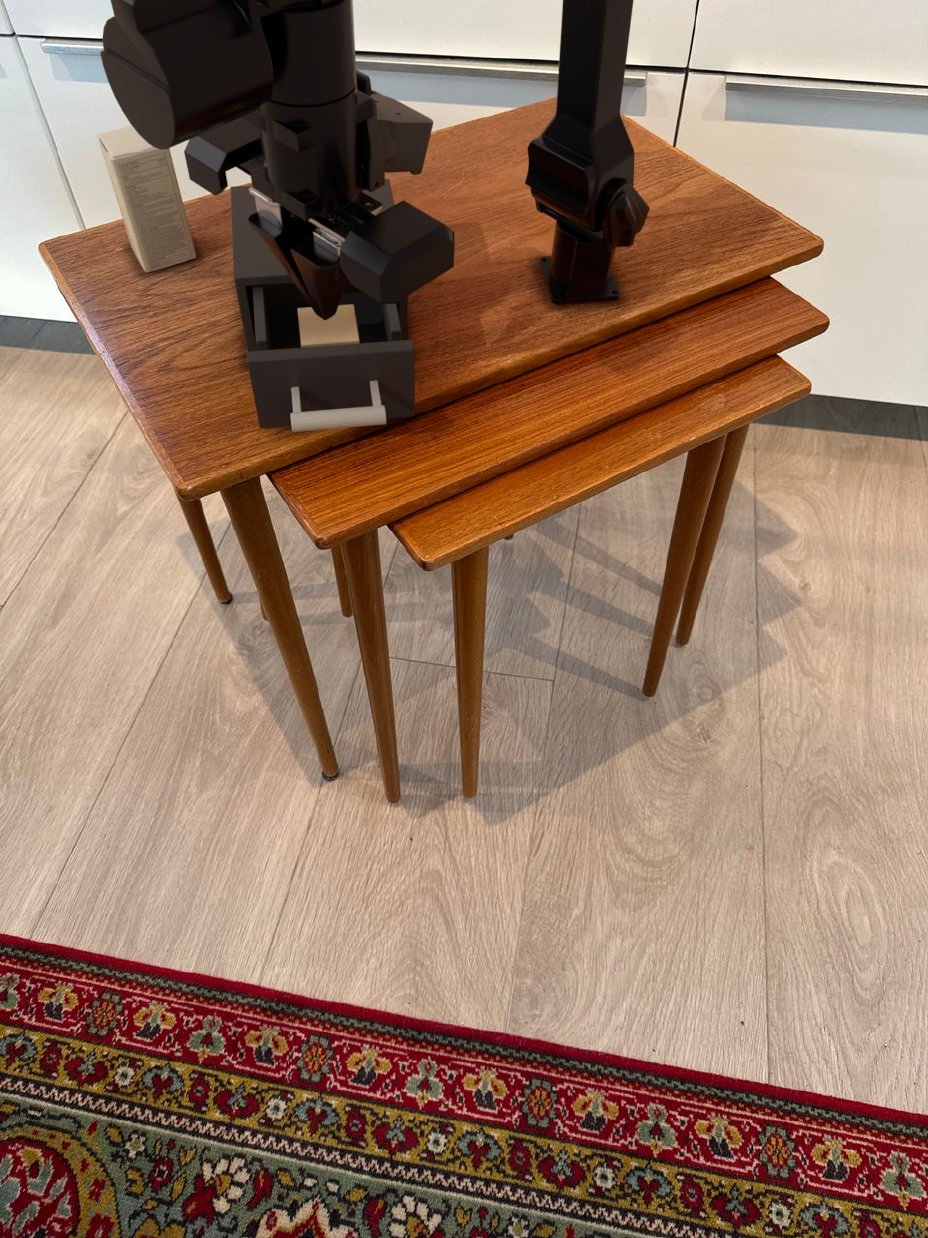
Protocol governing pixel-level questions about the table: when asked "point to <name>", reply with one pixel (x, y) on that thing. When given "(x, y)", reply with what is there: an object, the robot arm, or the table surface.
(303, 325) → the block
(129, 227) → the box
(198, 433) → the table surface
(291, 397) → the drawer
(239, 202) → the cabinet
